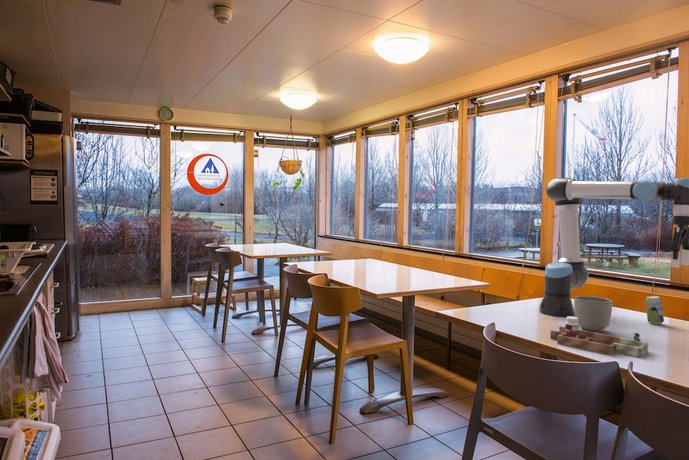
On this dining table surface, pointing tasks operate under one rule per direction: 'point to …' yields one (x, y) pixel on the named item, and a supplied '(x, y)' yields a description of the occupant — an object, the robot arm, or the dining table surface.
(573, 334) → the pill bottle
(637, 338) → the sculpture
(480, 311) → the dining table surface
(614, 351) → the open divided box
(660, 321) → the beverage can
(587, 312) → the planter
